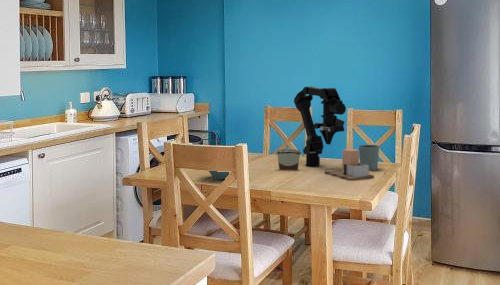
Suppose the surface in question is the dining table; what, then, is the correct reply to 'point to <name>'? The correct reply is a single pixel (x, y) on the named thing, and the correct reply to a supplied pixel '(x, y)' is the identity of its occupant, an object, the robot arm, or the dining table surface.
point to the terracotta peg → (350, 157)
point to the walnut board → (341, 175)
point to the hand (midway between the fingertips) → (328, 144)
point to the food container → (288, 159)
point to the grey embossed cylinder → (369, 156)
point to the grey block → (356, 170)
